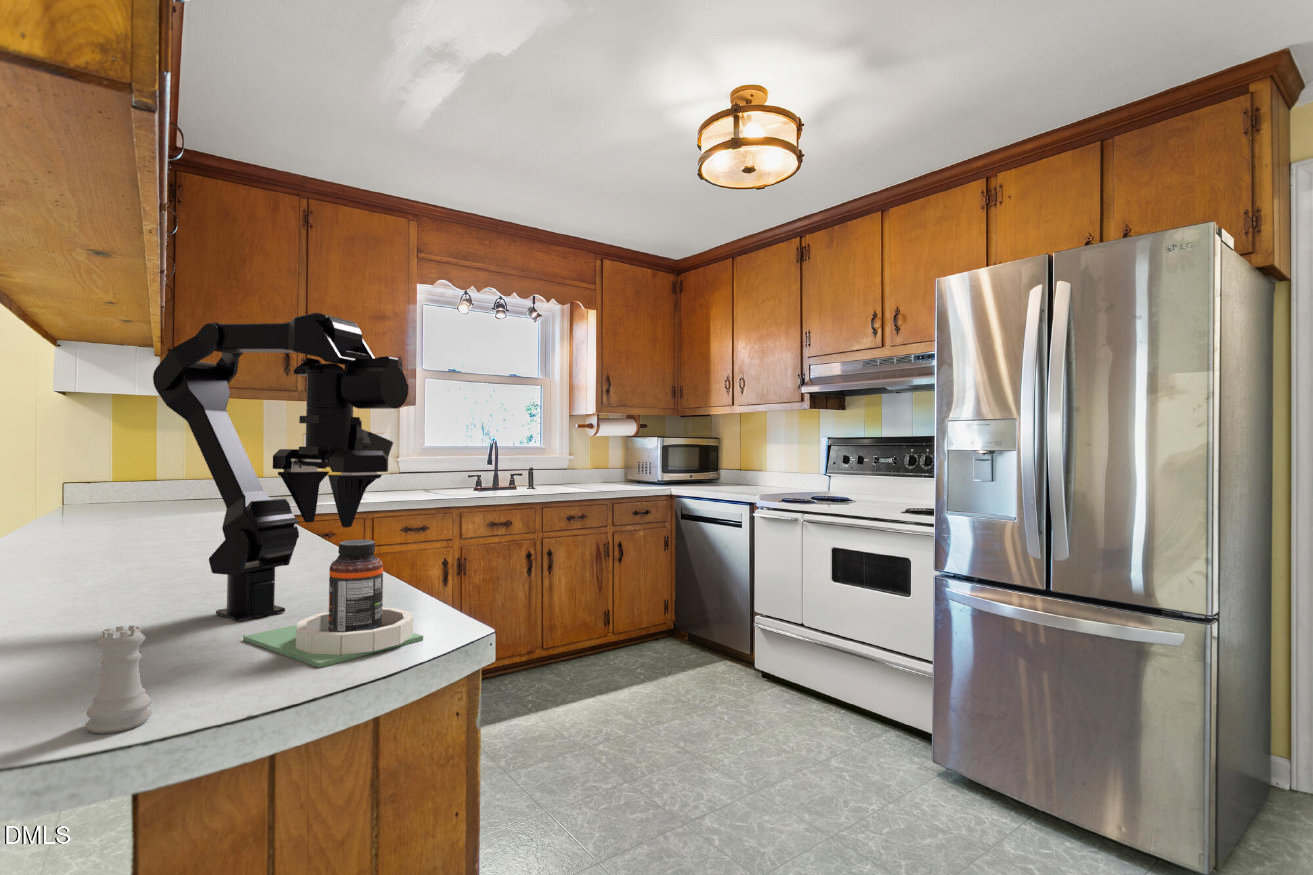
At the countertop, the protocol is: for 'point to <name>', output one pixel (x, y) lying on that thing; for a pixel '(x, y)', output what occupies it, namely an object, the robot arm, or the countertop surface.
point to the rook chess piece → (119, 684)
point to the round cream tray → (353, 634)
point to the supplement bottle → (355, 588)
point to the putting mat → (286, 645)
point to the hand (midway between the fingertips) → (327, 524)
